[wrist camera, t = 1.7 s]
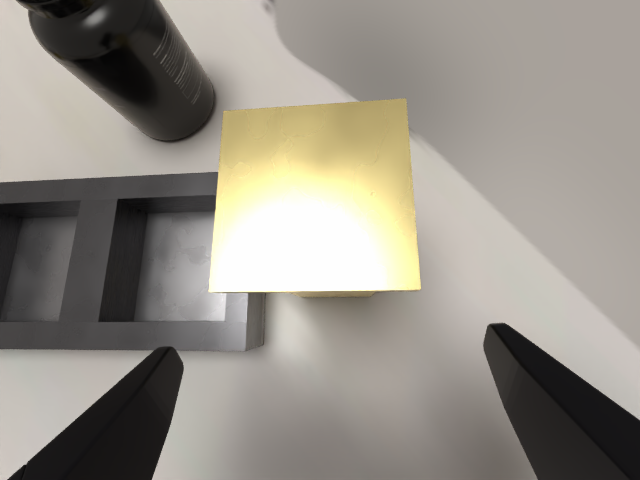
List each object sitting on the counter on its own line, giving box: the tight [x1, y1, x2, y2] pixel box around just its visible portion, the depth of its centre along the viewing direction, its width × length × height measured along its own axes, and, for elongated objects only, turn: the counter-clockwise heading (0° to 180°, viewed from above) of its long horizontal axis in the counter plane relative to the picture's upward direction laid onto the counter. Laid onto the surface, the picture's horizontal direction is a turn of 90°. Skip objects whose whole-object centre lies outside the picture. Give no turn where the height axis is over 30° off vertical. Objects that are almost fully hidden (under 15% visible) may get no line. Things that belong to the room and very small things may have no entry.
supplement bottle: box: [16, 0, 214, 140], centre depth 19 cm, size 7×7×12 cm
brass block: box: [209, 99, 421, 297], centre depth 15 cm, size 6×6×12 cm
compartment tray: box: [0, 172, 265, 351], centre depth 20 cm, size 10×20×4 cm, turn 90°
